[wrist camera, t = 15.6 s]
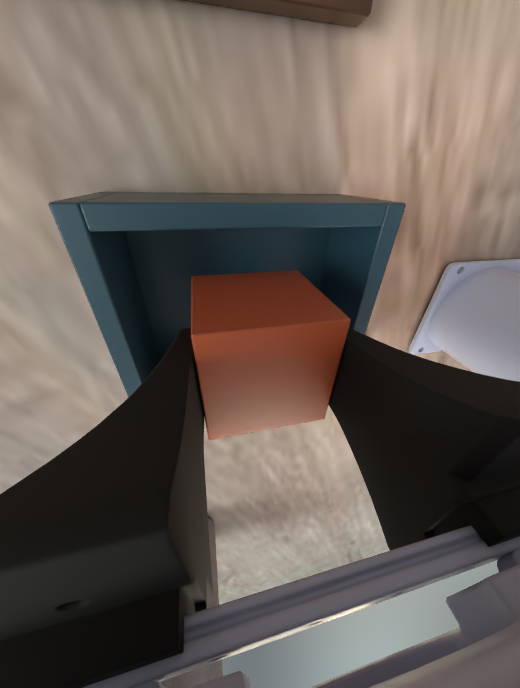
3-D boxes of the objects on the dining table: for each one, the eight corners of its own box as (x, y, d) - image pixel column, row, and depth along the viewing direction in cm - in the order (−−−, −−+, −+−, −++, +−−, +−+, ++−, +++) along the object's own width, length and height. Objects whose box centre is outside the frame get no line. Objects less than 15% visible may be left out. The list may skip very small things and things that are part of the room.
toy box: (342, 194, 13) (407, 203, 9) (314, 344, 19) (347, 390, 15) (99, 191, 11) (46, 202, 7) (151, 363, 17) (138, 424, 13)
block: (297, 269, 11) (351, 319, 7) (288, 352, 13) (324, 419, 10) (191, 275, 10) (190, 335, 6) (203, 362, 13) (208, 441, 9)
